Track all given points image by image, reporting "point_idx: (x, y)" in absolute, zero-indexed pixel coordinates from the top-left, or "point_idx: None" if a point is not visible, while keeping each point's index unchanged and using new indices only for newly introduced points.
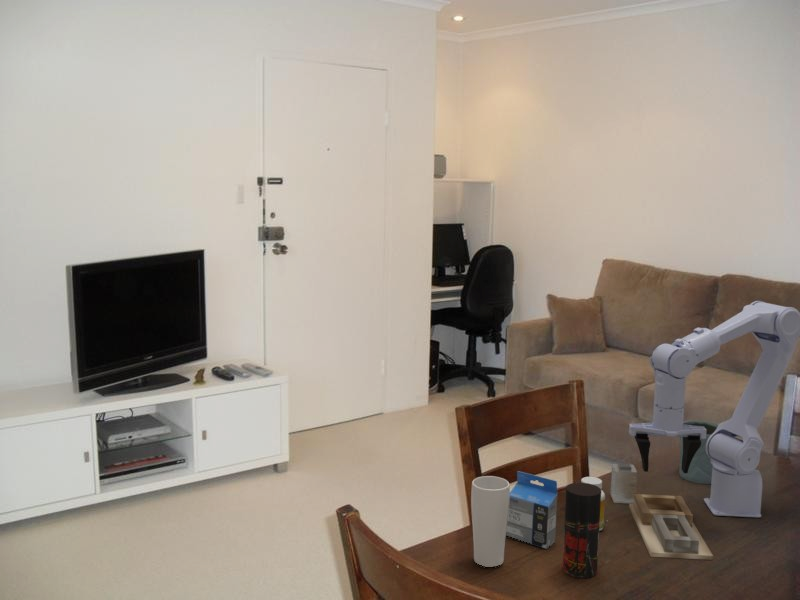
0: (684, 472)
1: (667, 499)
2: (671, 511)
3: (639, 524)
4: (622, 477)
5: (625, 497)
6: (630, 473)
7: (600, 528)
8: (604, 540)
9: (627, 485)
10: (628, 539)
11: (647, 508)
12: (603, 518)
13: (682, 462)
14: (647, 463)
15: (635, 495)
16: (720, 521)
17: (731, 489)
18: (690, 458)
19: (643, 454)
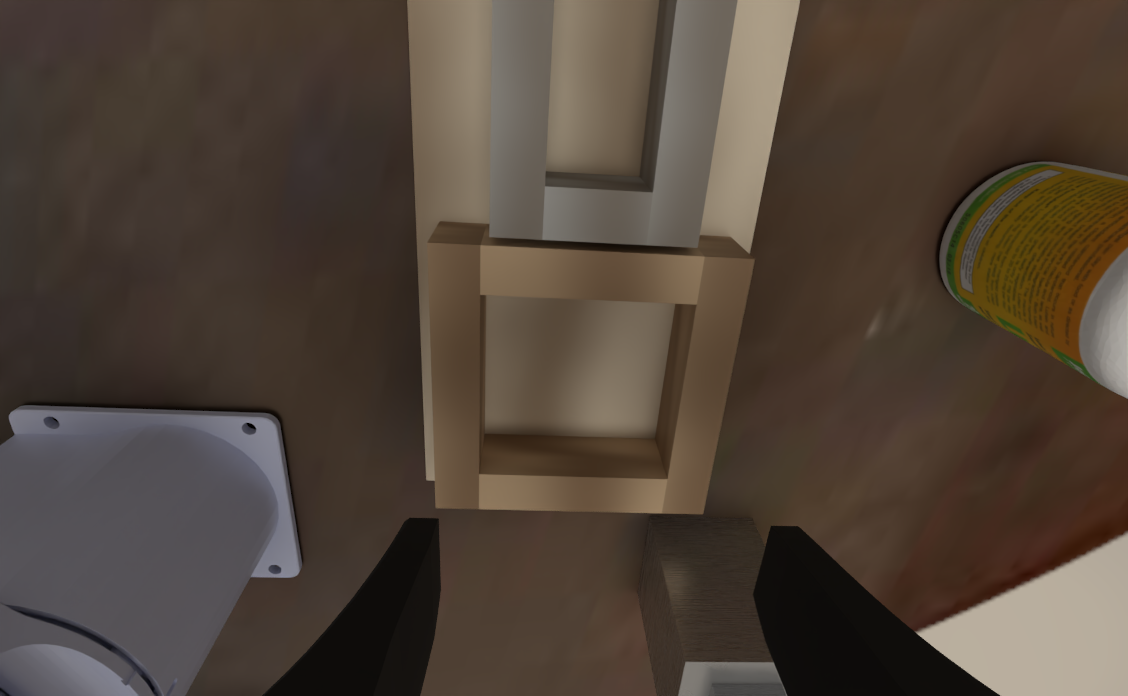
0: (434, 521)
1: (525, 470)
2: (557, 295)
3: (745, 242)
4: (761, 629)
5: (706, 538)
6: (724, 653)
7: (995, 181)
8: (1015, 55)
9: (717, 588)
10: (862, 78)
11: (700, 329)
12: (1001, 221)
13: (426, 647)
14: (826, 578)
15: (703, 496)
16: (253, 354)
17: (95, 520)
18: (346, 635)
19: (944, 662)
